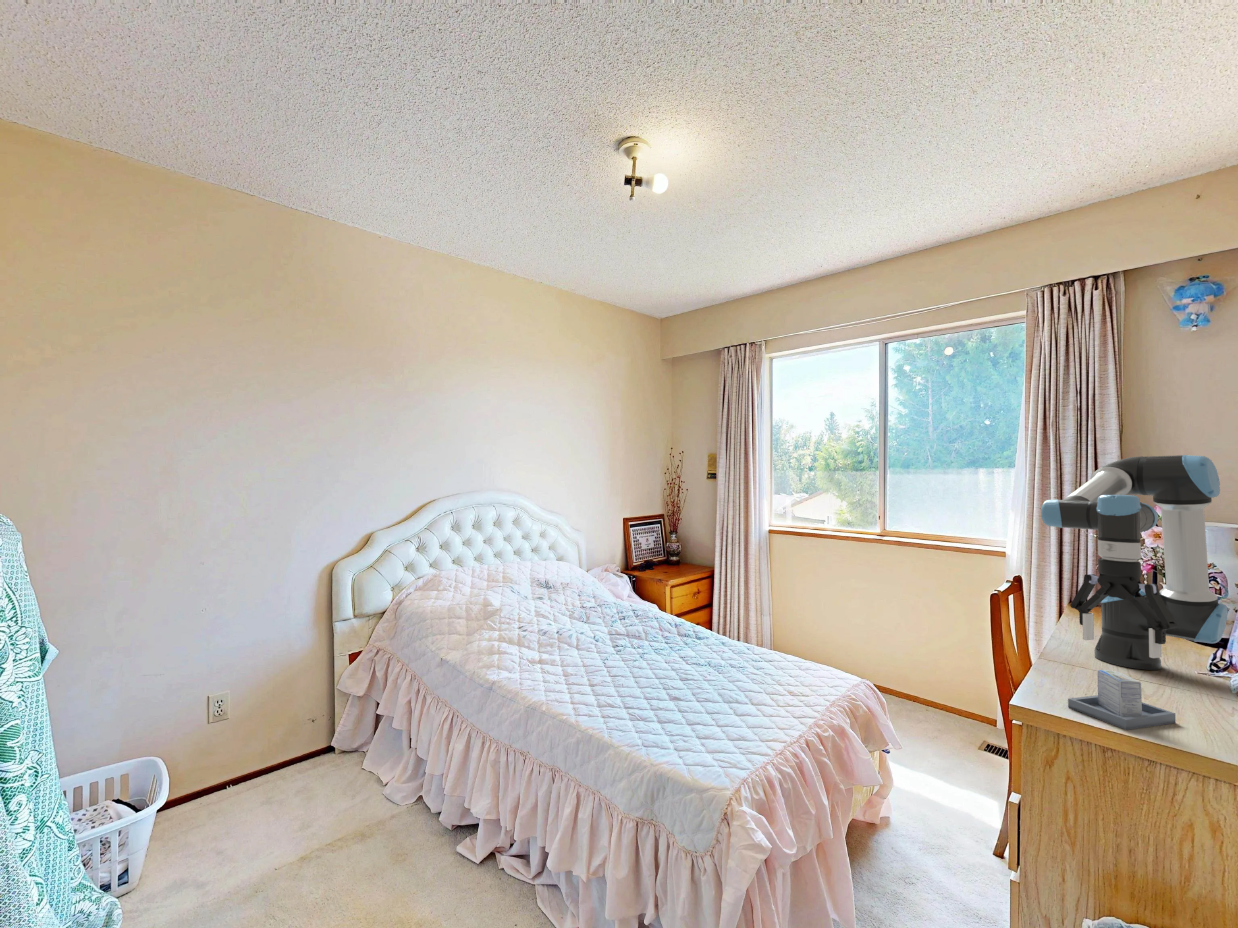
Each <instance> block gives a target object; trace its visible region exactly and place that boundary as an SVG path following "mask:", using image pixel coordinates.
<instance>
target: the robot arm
mask: <svg viewBox="0 0 1238 928" xmlns="http://www.w3.org/2000/svg"><path fill="white" fill-rule="evenodd" d="M1220 486H1221V482H1220V478H1219V473H1218V470H1217V467H1216V465H1215V464H1214V462H1213V460H1212V459H1211V458H1209V457H1207V456H1203V455H1188V454H1186V455H1185V454H1183V455H1181V454H1179V455H1155V456H1152V455H1151V456H1142V455H1141V456H1131V457H1127V458H1126V457H1125V458H1122V459H1119V460H1118V459H1117V460H1116V461H1113V462H1110V463H1108V464H1105V465H1103V466H1102V467H1099V468H1097V470H1095V471H1094V472H1093V473H1092V474H1091V476H1090V478H1089V480H1087V482H1085V483H1084V484H1082V485H1081V486H1079V487H1078V488H1077V489H1076V490H1074V491H1073V492H1071V493H1070V494H1069V495H1068V496H1066V497H1065V498H1063V499H1046V500H1045V501H1044V502H1043V504H1042V505H1041V509H1040V510H1041V512H1040V514H1041V519H1042V521H1043V524H1044V525H1046V526H1047V527H1048V526H1049V527H1052V528H1053V527H1054V528H1055V527H1056V528H1059V529H1062V528H1063V529H1077V530H1078V529H1081V530H1095V531H1097V555H1098V556H1099V557H1100V558H1099V559H1097V568H1098V569H1097V570H1098V571H1097V572H1098V573H1099V576H1098V575H1096V574H1093V573H1090V574H1084V576H1083V582H1082V584H1081V586H1080V588H1079V589H1078V591H1077V593H1075V594H1076V595H1075V596H1074V598H1073V600H1072V601H1071V602H1070V605H1069V606H1070V608H1071V609H1075V610H1077V611H1078V613H1079V615H1078V616H1079V617H1078V619H1079V621H1078V622H1079V625H1080V626H1082V640H1083V641H1092V640H1093V641H1094V640H1095V616H1094V615H1095V613H1093V612H1092V610H1094V608H1096V607H1097V606H1098V605H1099V604H1100V605H1101V607H1100V608H1101V634H1100V635H1099V638H1098V641H1097V643H1096V645H1095V648H1094V657H1095V658H1096V659H1098V661H1099V660H1100V661H1102V662H1106V663H1108V664H1111V665H1116V666H1120V667H1125V668H1129V669H1134V670H1135V669H1136V670H1145V671H1146V670H1147V671H1158V670H1161V669H1162V660H1161V658H1162V656H1163V655H1162V654H1163V653H1162V645H1165V644H1166V642H1167V638H1166V637H1172V638H1176V639H1182V640H1187V641H1192V642H1199V643H1205V644H1206V643H1207V644H1216V643H1218V642H1220V641H1221V639H1223V638H1222V637H1223V636H1224V632H1225V629H1226V626H1227V625H1226V624H1227V620H1228V613H1229V611H1228V606H1227V605H1226V604H1224V603H1221V602H1220V603H1219V601H1218V600H1219V597H1218V595H1217V594H1215V593H1214V592H1213V591H1212V590H1210V582H1209V580H1210V579H1209V566H1208V563H1209V561H1208V550H1207V549H1208V548H1207V535H1206V532H1207V531H1206V517H1205V515H1206V514H1205V508H1207V507H1208V506H1210V505H1211V504H1212V503H1213V500H1212V498H1213V499H1214V498H1217V497H1219V496H1220V494H1221V493H1220V492H1221V487H1220ZM1139 496H1152V501H1153V502H1152V503H1153V504H1155V505H1157V506H1158V507H1160V512H1161V513H1160V514H1161V525H1162V526H1161V528H1162V540H1163V541H1162V542H1163V543H1162V544H1163V556H1164V573H1165V574H1164V575H1165V584H1166V585H1165V587H1163V588H1161V589H1160V588H1159V586H1158V584H1156V583H1148V584H1145V583H1142V581H1141V576H1142V563H1141V562H1140V561H1139V560H1140V559H1142V553H1141V552H1142V550H1141V547H1142V545H1141V533H1144V532H1148V531H1149V530H1151V529H1153V528H1154V527H1155V526H1156V525H1157V523H1158V521H1159V516H1158V515H1159V514H1158V513H1157V511H1156V509H1155V508H1154V507H1152V506H1151V505H1149V504H1147V503H1144V502H1141V500H1140V498H1139ZM1098 584H1099V586H1100V588H1099V589H1097V591H1095V593H1094V594H1093V595H1092V596H1091V597H1090V598H1089V596H1090V595H1091V593H1092V591H1093V590H1094V588H1095V586H1096V585H1098ZM1159 589H1160V590H1159ZM1088 598H1089V599H1088Z"/></svg>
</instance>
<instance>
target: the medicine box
mask: <svg viewBox="0 0 1238 928" xmlns="http://www.w3.org/2000/svg"><path fill="white" fill-rule="evenodd" d="M1097 695H1098V704H1099V705H1100V706H1102V707H1104V708H1106V709H1107V710H1109V711H1111V712H1113V713H1114V714H1116V715H1118V716H1121V717H1124V718H1125V717H1133V716H1140V715H1142V702H1143V700H1142V699H1143V698H1142V683H1141V681H1140V680H1137V679H1135V678H1133V677H1131V676H1128V675H1126V674H1124V673H1123V672H1120V671H1118V670H1108V669H1097Z"/></svg>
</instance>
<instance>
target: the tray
mask: <svg viewBox="0 0 1238 928" xmlns="http://www.w3.org/2000/svg"><path fill="white" fill-rule="evenodd" d="M1067 701H1068V702H1067V704H1068V705H1067V706H1068V707H1069V709H1070V708H1071V710H1073V709H1074V711H1076V712H1078V711H1080V712H1079V713H1081V712H1082V713H1081V714H1083V713H1085V714H1084V715H1086V714H1087V715H1086V716H1089V715H1090V716H1089V717H1091V718H1094V717H1095V718H1094V719H1096V718H1097V720H1099V719H1100V720H1099V721H1102V722H1105V723H1107V724H1109V725H1113V726H1115V727H1118V728H1120V729H1123V730H1125V731H1128V730H1137V729H1142V728H1143V729H1144V728H1150V727H1158V726H1164V725H1171V724H1176V723H1177V722H1176V713H1175V712H1173V711H1169V710H1166V709H1163V708H1161V707H1157V706H1155V705H1152V704H1149V703H1145V702H1143V701H1142V715H1140V716H1133V717H1125V718H1124V717H1121V716H1118V715H1116V714H1114V713H1113V712H1111V711H1109V710H1107V709H1106V708H1104V707H1102V706H1100V705H1099V704H1098V694H1096V695H1088V696H1080V697H1070V698H1068V699H1067ZM1068 707H1067V708H1068Z"/></svg>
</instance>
